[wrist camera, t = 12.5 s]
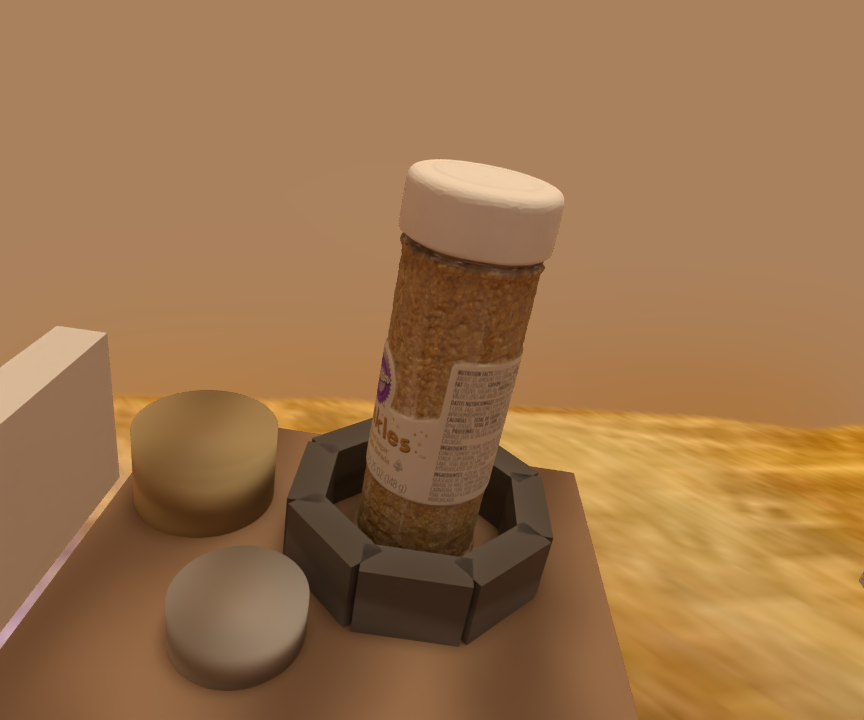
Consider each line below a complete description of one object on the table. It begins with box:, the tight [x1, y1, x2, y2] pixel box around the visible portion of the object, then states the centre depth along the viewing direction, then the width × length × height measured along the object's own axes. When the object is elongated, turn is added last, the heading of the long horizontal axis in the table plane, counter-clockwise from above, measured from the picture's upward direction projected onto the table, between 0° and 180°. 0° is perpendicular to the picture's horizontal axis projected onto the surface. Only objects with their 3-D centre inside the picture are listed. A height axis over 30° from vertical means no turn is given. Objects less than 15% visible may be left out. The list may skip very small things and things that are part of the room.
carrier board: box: [0, 390, 639, 720], centre depth 22 cm, size 18×18×5 cm
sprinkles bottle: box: [353, 159, 565, 557], centre depth 22 cm, size 5×5×14 cm
